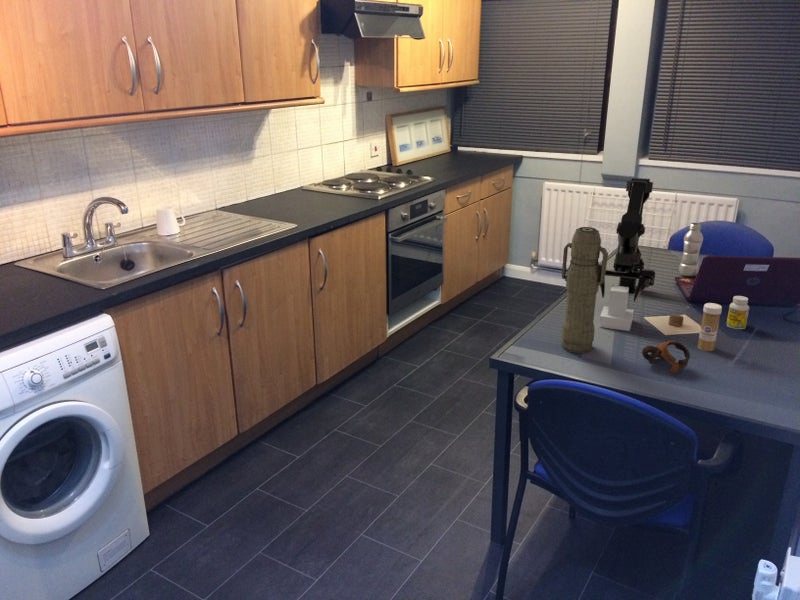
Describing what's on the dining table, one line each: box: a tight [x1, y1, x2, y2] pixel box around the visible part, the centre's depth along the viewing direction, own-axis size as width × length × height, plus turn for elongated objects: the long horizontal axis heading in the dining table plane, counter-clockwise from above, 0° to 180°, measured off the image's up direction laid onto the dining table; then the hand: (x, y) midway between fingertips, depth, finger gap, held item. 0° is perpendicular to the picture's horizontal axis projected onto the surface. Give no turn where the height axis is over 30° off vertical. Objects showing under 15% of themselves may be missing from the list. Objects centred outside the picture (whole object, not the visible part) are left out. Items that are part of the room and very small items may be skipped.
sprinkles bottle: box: [696, 302, 723, 352], centre depth 181 cm, size 5×5×14 cm
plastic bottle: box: [678, 222, 704, 277], centre depth 240 cm, size 6×7×20 cm
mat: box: [643, 314, 701, 336], centre depth 199 cm, size 14×14×1 cm
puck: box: [669, 314, 684, 327], centre depth 199 cm, size 4×4×2 cm
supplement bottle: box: [726, 295, 750, 330], centre depth 196 cm, size 5×5×10 cm
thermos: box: [561, 226, 609, 354], centre depth 181 cm, size 9×12×35 cm
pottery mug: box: [641, 340, 691, 375], centre depth 173 cm, size 12×10×8 cm
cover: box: [598, 285, 634, 332], centre depth 199 cm, size 9×9×12 cm
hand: (618, 299), depth 197 cm, fingers open, 9 cm apart
